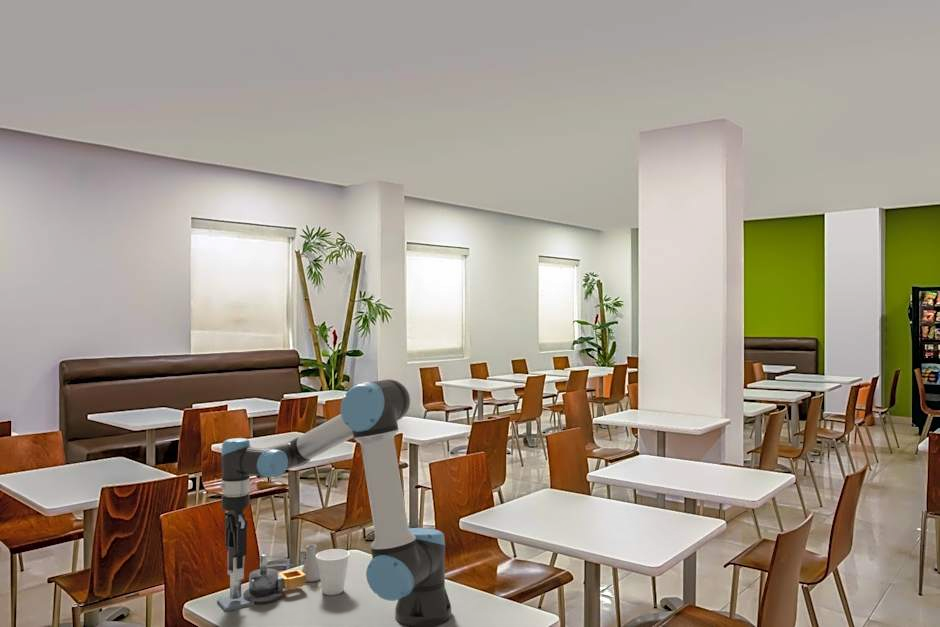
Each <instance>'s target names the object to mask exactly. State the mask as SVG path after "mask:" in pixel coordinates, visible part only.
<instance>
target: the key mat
mask: <svg viewBox="0 0 940 627" xmlns="http://www.w3.org/2000/svg"><path fill="white" fill-rule="evenodd" d="M216 602H217V603H218V605H219V606H220V607H221V608H222V609H223V611H224V612H228V611H232V610H237V609H241V608H246V607H249V606H255V604H254V601H248V600H246V599H245V598H244V592H243V593H242V592H241V598H238V599H230V595H229V596H225V597H221V598H217V601H216Z"/></svg>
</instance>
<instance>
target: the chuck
mask: <svg viewBox="0 0 940 627" xmlns="http://www.w3.org/2000/svg"><path fill="white" fill-rule="evenodd" d="M306 585H307V582H306V575H305V574H304V573H303V572H302V569H301V570H300V569H292V570H287V571H282V572H281V573H279V571H278V569H274V568H269V567H268V554H266V553H262V554H260V555H259V569H255V570H252V571H251V572H249V574H248V589H249V593H250V594H251V595H254V596H266V595H270V594H273V593H275V592H276V591H277V590H278V589H282V588H283V591H285V590H291V589H297V588H301V587H304V586H306Z"/></svg>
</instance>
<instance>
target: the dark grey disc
mask: <svg viewBox="0 0 940 627" xmlns="http://www.w3.org/2000/svg"><path fill="white" fill-rule="evenodd" d="M243 593H244V598H245V599H246V600H248V601H254V605H267V604H272V603H275V602H278V601H279V600H281V599H282V598H283V597H284V589H283V588H282V589H278V590H277V591H276V592H275V593H273V594H270V595H266V596H254V595H251V594H250V593H249V588H248V589H246V590H245V591H244V592H243Z"/></svg>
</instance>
